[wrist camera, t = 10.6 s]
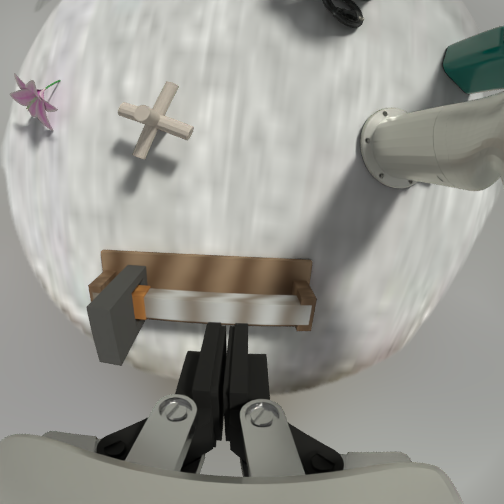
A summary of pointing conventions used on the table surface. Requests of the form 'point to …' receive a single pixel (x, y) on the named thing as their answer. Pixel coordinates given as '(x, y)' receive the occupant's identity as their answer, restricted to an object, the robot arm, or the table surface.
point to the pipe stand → (216, 288)
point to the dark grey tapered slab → (116, 315)
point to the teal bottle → (477, 62)
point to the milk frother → (346, 13)
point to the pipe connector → (155, 120)
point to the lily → (33, 100)
